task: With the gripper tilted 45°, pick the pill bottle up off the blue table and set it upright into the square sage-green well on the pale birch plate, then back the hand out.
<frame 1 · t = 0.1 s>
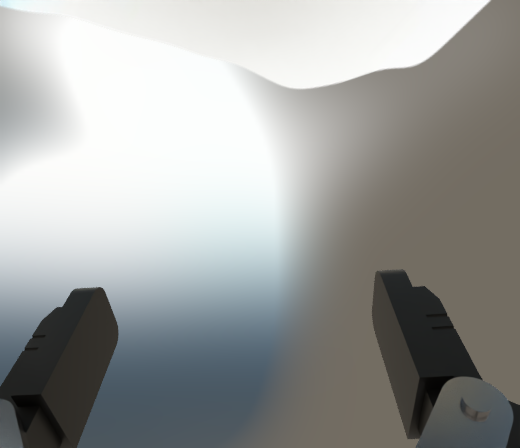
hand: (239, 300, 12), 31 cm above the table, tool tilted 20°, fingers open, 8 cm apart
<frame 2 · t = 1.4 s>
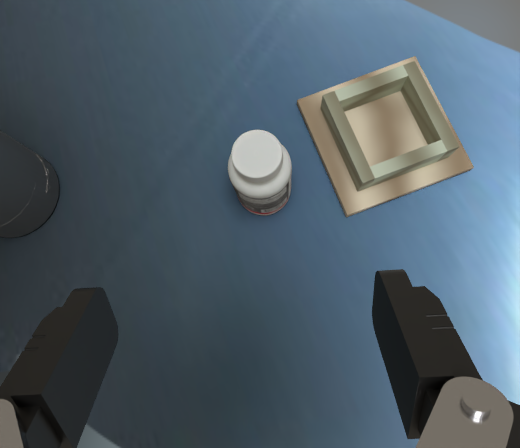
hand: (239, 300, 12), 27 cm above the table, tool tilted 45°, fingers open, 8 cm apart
holder: (380, 136, 41), on the table
pill bottle: (263, 191, 41), on the table
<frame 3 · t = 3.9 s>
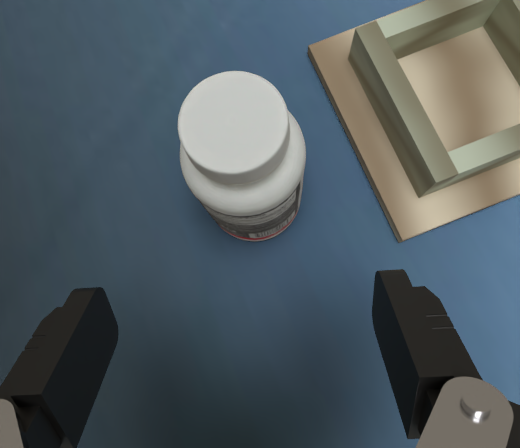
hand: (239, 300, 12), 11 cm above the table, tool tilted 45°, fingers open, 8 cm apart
holder: (451, 103, 24), on the table
pill bottle: (254, 199, 24), on the table
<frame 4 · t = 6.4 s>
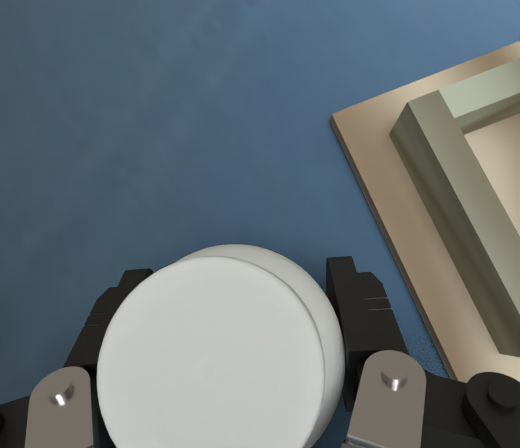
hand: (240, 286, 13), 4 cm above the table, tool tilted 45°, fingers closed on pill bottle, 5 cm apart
pill bottle: (254, 338, 17), on the table, touching gripper
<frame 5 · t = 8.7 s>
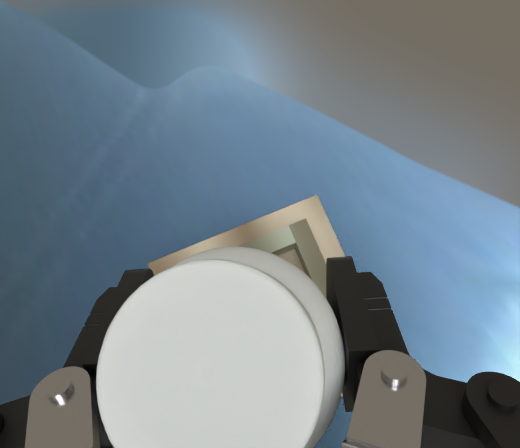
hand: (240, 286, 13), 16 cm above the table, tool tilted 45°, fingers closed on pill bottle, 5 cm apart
holder: (267, 315, 28), on the table
pill bottle: (254, 339, 17), point 12 cm above the table, touching gripper
when the fingers open (7 cm above the table, at t = 11.0 s): pill bottle drops 2 cm, resting on holder.
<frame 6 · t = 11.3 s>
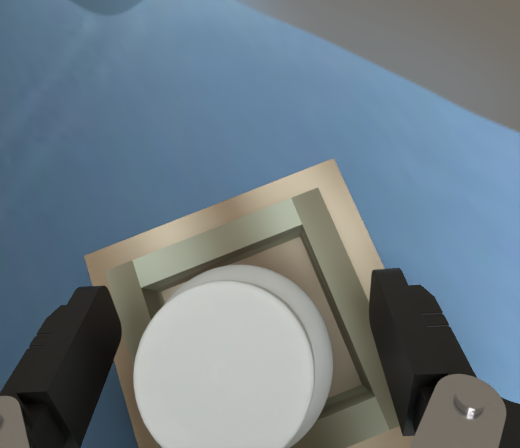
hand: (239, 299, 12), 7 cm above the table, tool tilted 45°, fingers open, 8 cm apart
holder: (258, 335, 19), on the table
pill bottle: (254, 342, 18), point 1 cm above the table, touching holder
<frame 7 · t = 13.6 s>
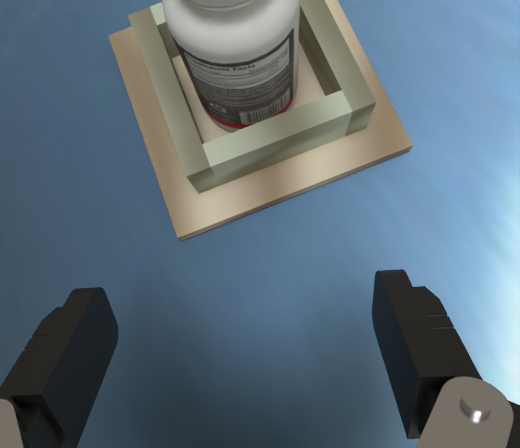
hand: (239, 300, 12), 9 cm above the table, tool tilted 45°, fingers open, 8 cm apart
holder: (252, 94, 23), on the table
pill bottle: (248, 93, 22), point 1 cm above the table, touching holder
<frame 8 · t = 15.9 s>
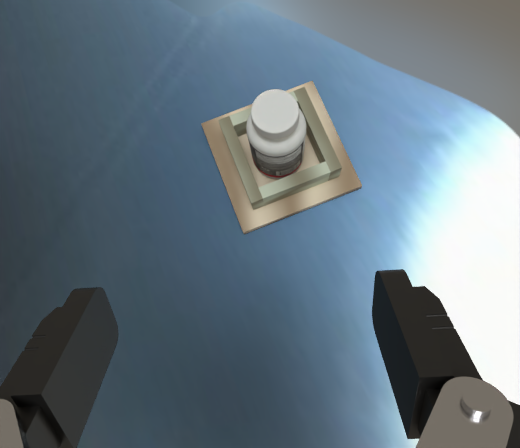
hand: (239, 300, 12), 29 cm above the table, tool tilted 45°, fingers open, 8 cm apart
holder: (279, 156, 43), on the table
pill bottle: (277, 157, 43), point 1 cm above the table, touching holder
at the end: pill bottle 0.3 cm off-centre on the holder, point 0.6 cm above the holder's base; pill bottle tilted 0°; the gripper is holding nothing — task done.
